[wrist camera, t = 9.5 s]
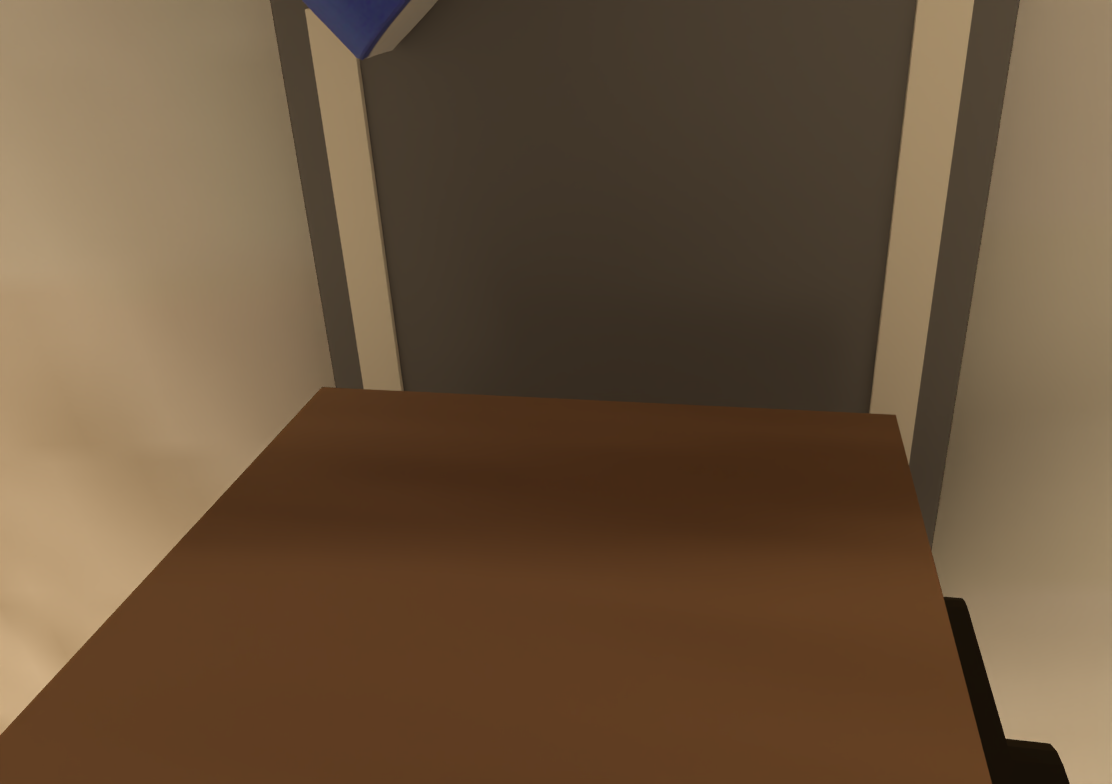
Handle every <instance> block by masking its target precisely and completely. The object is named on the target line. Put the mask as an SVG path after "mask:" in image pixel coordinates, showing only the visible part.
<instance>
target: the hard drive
mask: <svg viewBox="0 0 1112 784" xmlns="http://www.w3.org/2000/svg"><path fill="white" fill-rule="evenodd" d="M302 1H303V2H304V3H305V4H306V5H307V6H308V7H309V8H310V9H311V11H312V12H313V13H314V14H315V15H316V16H317V17H318V18H319V19H320V20H321V21H322V22H323V23H324V24H325V25H326V26H327V27H328V28H329V29H330V30H331V31H332V32H333V34H334V35H335V36H336V37H337V38H338V39H339V40H340V41H341V42H342V43H343V44H344V45H345V46H346V47H347V48H348V49H349V50H350V51H351V52H352V53H353V54H354V56H355V57H356V58H358V59H361V60H363V59H366V58H370V57H372V56H375V55H378V54H382V53H385V52H388V51H392V50H393V49H394V48H395V47H396V46H397V45H398V44H399V42H400V41H401V40H402V39H403V38H404V37H405V36H406V35H407V34H408V33H409V32H410V31H411V30H412V29H413V28H414V27H415V26H416V24H417V23H418V22H419V21H420V20H421V19H422V18H423V17H424V16H425V15H426V14H427V12H428V11H429V10H430V9H431V8H432V7H433V6H434V4H435V3H436V2H437V1H438V0H302Z"/></svg>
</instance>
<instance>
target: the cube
mask: <svg viewBox="0 0 1112 784" xmlns="http://www.w3.org/2000/svg"><path fill="white" fill-rule="evenodd" d="M0 784H992V782H991V778H990V774H989V770H988V767H987V763H986V759H985V755H984V751H983V747H982V744H981V740H980V736H979V732H978V728H977V724H976V721H975V717H974V713H973V709H972V705H971V701H970V698H969V694H968V690H967V686H966V682H965V678H964V675H963V671H962V667H961V663H960V659H959V655H958V652H957V648H956V644H955V640H954V636H953V632H952V629H951V625H950V621H949V617H948V613H947V609H946V606H945V602H944V598H943V594H942V590H941V586H940V583H939V579H938V575H937V571H936V567H935V563H934V560H933V556H932V552H931V548H930V544H929V540H928V537H927V533H926V529H925V525H924V521H923V517H922V514H921V510H920V506H919V502H918V498H917V494H916V491H915V487H914V483H913V479H912V475H911V471H910V468H909V464H908V460H907V456H906V452H905V448H904V445H903V441H902V437H901V433H900V429H899V425H898V422H897V418H896V415H892V414H871V413H850V412H829V411H808V410H787V409H767V408H746V407H725V406H704V405H683V404H662V403H642V402H621V401H600V400H579V399H558V398H537V397H517V396H496V395H475V394H454V393H433V392H412V391H392V390H371V389H350V388H329V387H322V388H321V389H320V390H319V391H318V392H317V393H316V394H315V395H314V396H313V398H312V399H311V400H310V401H309V402H308V403H307V404H306V405H305V406H304V407H303V408H302V409H301V411H300V412H299V413H298V414H297V415H296V416H295V417H294V418H293V419H292V420H291V421H290V422H289V424H288V425H287V426H286V427H285V428H284V429H283V430H282V431H281V432H280V433H279V434H278V435H277V436H276V438H275V439H274V440H273V441H272V442H271V443H270V444H269V445H268V446H267V447H266V448H265V449H264V451H263V452H262V453H261V454H260V455H259V456H258V457H257V458H256V459H255V460H254V461H253V462H252V464H251V465H250V466H249V467H248V468H247V469H246V470H245V471H244V472H243V473H242V474H241V475H240V477H239V478H238V479H237V480H236V481H235V482H234V483H233V484H232V485H231V486H230V487H229V488H228V490H227V491H226V492H225V493H224V494H223V495H222V496H221V497H220V498H219V499H218V500H217V501H216V502H215V504H214V505H213V506H212V507H211V508H210V509H209V510H208V511H207V512H206V513H205V514H204V515H203V517H202V518H201V519H200V520H199V521H198V522H197V523H196V524H195V525H194V526H193V527H192V528H191V530H190V531H189V532H188V533H187V534H186V535H185V536H184V537H183V538H182V539H181V540H180V541H179V543H178V544H177V545H176V546H175V547H174V548H173V549H172V550H171V551H170V552H169V553H168V554H167V556H166V557H165V558H164V559H163V560H162V561H161V562H160V563H159V564H158V565H157V566H156V567H155V568H154V570H153V571H152V572H151V573H150V574H149V575H148V576H147V577H146V578H145V579H144V580H143V581H142V583H141V584H140V585H139V586H138V587H137V588H136V589H135V590H134V591H133V592H132V593H131V594H130V596H129V597H128V598H127V599H126V600H125V601H124V602H123V603H122V604H121V605H120V606H119V607H118V609H117V610H116V611H115V612H114V613H113V614H112V615H111V616H110V617H109V618H108V619H107V620H106V622H105V623H104V624H103V625H102V626H101V627H100V628H99V629H98V630H97V631H96V632H95V633H94V634H93V636H92V637H91V638H90V639H89V640H88V641H87V642H86V643H85V644H84V645H83V646H82V647H81V649H80V650H79V651H78V652H77V653H76V654H75V655H74V656H73V657H72V658H71V659H70V660H69V662H68V663H67V664H66V665H65V666H64V667H63V668H62V669H61V670H60V671H59V672H58V673H57V675H56V676H55V677H54V678H53V679H52V680H51V681H50V682H49V683H48V684H47V685H46V686H45V688H44V689H43V690H42V691H41V692H40V693H39V694H38V695H37V696H36V697H35V698H34V699H33V700H32V702H31V703H30V704H29V705H28V706H27V707H26V708H25V709H24V710H23V711H22V712H21V713H20V715H19V716H18V717H17V718H16V719H15V720H14V721H13V722H12V723H11V724H10V725H9V726H8V728H7V729H6V730H5V731H4V732H3V733H2V734H1V735H0Z"/></svg>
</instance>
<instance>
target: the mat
mask: <svg viewBox="0 0 1112 784" xmlns="http://www.w3.org/2000/svg"><path fill="white" fill-rule="evenodd" d="M1019 1H1020V0H438V1H437V2H436V3H435V4H434V6H433V7H432V8H431V9H430V10H429V11H428V12H427V14H426V15H425V16H424V17H423V18H422V19H421V20H420V21H419V22H418V23H417V24H416V26H415V27H414V28H413V29H412V30H411V31H410V32H409V33H408V34H407V35H406V36H405V37H404V38H403V39H402V40H401V41H400V42H399V44H398V45H397V46H396V47H395V48H394V49H393V50H392V51H388V52H385V53H382V54H378V55H375V56H372V57H370V58H366V59H363V60H361V59H358V58H356V57H355V56H354V54H353V53H352V52H351V51H350V50H349V49H348V48H347V47H346V46H345V45H344V44H343V43H342V42H341V41H340V40H339V39H338V38H337V37H336V36H335V35H334V34H333V32H332V31H331V30H330V29H329V28H328V27H327V26H326V25H325V24H324V23H323V22H322V21H321V20H320V19H319V18H318V17H317V16H316V15H315V14H314V13H313V12H312V11H311V9H310V8H309V7H308V6H307V5H306V4H305V3H304V2H303V1H302V0H270V2H271V8H272V14H273V20H274V26H275V32H276V37H277V43H278V49H279V55H280V61H281V67H282V73H283V79H284V85H285V90H286V96H287V102H288V108H289V114H290V120H291V126H292V132H293V138H294V143H295V149H296V155H297V161H298V167H299V173H300V179H301V185H302V191H303V196H304V202H305V208H306V214H307V220H308V226H309V232H310V238H311V244H312V249H313V255H314V261H315V267H316V273H317V279H318V285H319V291H320V297H321V302H322V308H323V314H324V320H325V326H326V332H327V338H328V344H329V350H330V355H331V361H332V367H333V373H334V379H335V385H336V388H350V389H371V390H392V391H412V392H433V393H454V394H475V395H496V396H517V397H537V398H558V399H579V400H600V401H621V402H642V403H662V404H683V405H704V406H725V407H746V408H767V409H787V410H808V411H829V412H850V413H871V414H892V415H896V418H897V422H898V425H899V429H900V433H901V437H902V441H903V445H904V448H905V452H906V456H907V460H908V464H909V468H910V471H911V475H912V479H913V483H914V487H915V491H916V494H917V498H918V502H919V506H920V510H921V514H922V517H923V521H924V525H925V529H926V533H927V537H928V540H929V544H930V548H931V550H932V543H933V537H934V531H935V525H936V518H937V512H938V506H939V500H940V494H941V487H942V481H943V475H944V469H945V462H946V456H947V450H948V444H949V437H950V431H951V425H952V419H953V413H954V406H955V400H956V394H957V388H958V381H959V375H960V369H961V363H962V356H963V350H964V344H965V338H966V332H967V325H968V319H969V313H970V307H971V300H972V294H973V288H974V282H975V275H976V269H977V263H978V257H979V251H980V244H981V238H982V232H983V226H984V219H985V213H986V207H987V201H988V195H989V188H990V182H991V176H992V170H993V163H994V157H995V151H996V145H997V138H998V132H999V126H1000V120H1001V114H1002V107H1003V101H1004V95H1005V89H1006V82H1007V76H1008V70H1009V64H1010V57H1011V51H1012V45H1013V39H1014V33H1015V26H1016V20H1017V14H1018V8H1019Z"/></svg>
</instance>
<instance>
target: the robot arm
mask: <svg viewBox="0 0 1112 784" xmlns="http://www.w3.org/2000/svg"><path fill="white" fill-rule="evenodd" d="M943 598H944V602H945V606H946V609H947V613H948V617H949V621H950V625H951V629H952V632H953V636H954V640H955V644H956V648H957V652H958V655H959V659H960V663H961V667H962V671H963V675H964V678H965V682H966V686H967V690H968V694H969V698H970V701H971V705H972V709H973V713H974V717H975V721H976V724H977V728H978V732H979V736H980V740H981V744H982V747H983V751H984V755H985V759H986V763H987V767H988V770H989V774H990V778H991V782H992V784H1070V783H1069V780H1068V778H1067V775H1066V772H1065V769H1064V766H1063V764H1062V762H1061V759H1060V757H1059V755H1058V753H1057V751H1056V750H1055V749H1054V748H1053V746H1052V745H1051V744H1048V743H1039V742H1030V741H1020V740H1011V739H1005V735H1004V732H1003V729H1002V725H1001V722H1000V718H999V715H998V711H997V708H996V704H995V701H994V697H993V694H992V691H991V687H990V684H989V680H988V677H987V673H986V670H985V666H984V663H983V660H982V656H981V653H980V649H979V646H978V642H977V639H976V635H975V632H974V629H973V625H972V622H971V618H970V615H969V611H968V608H967V605H966V603H965V601H964V600H963V599H962V598H952V597H943Z"/></svg>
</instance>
